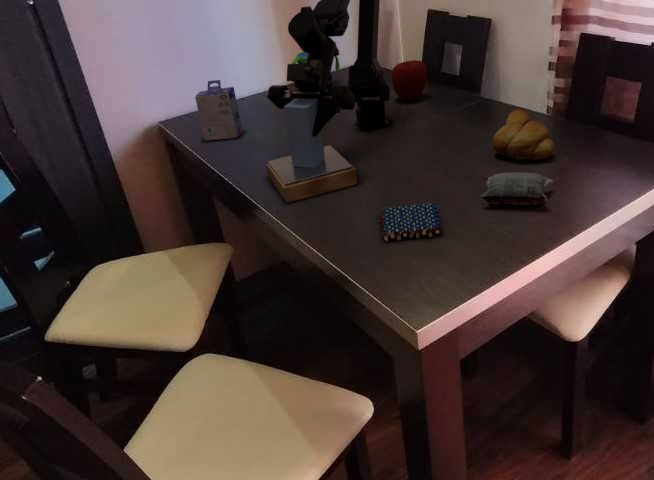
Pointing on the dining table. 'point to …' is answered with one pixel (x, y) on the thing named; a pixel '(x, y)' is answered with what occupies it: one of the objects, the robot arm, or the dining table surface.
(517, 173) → the packaged food
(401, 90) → the apple
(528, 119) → the bread roll
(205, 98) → the ink cartridge box
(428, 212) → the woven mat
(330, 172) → the stand
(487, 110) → the dining table surface
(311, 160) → the packet
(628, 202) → the dining table surface
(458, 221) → the dining table surface
